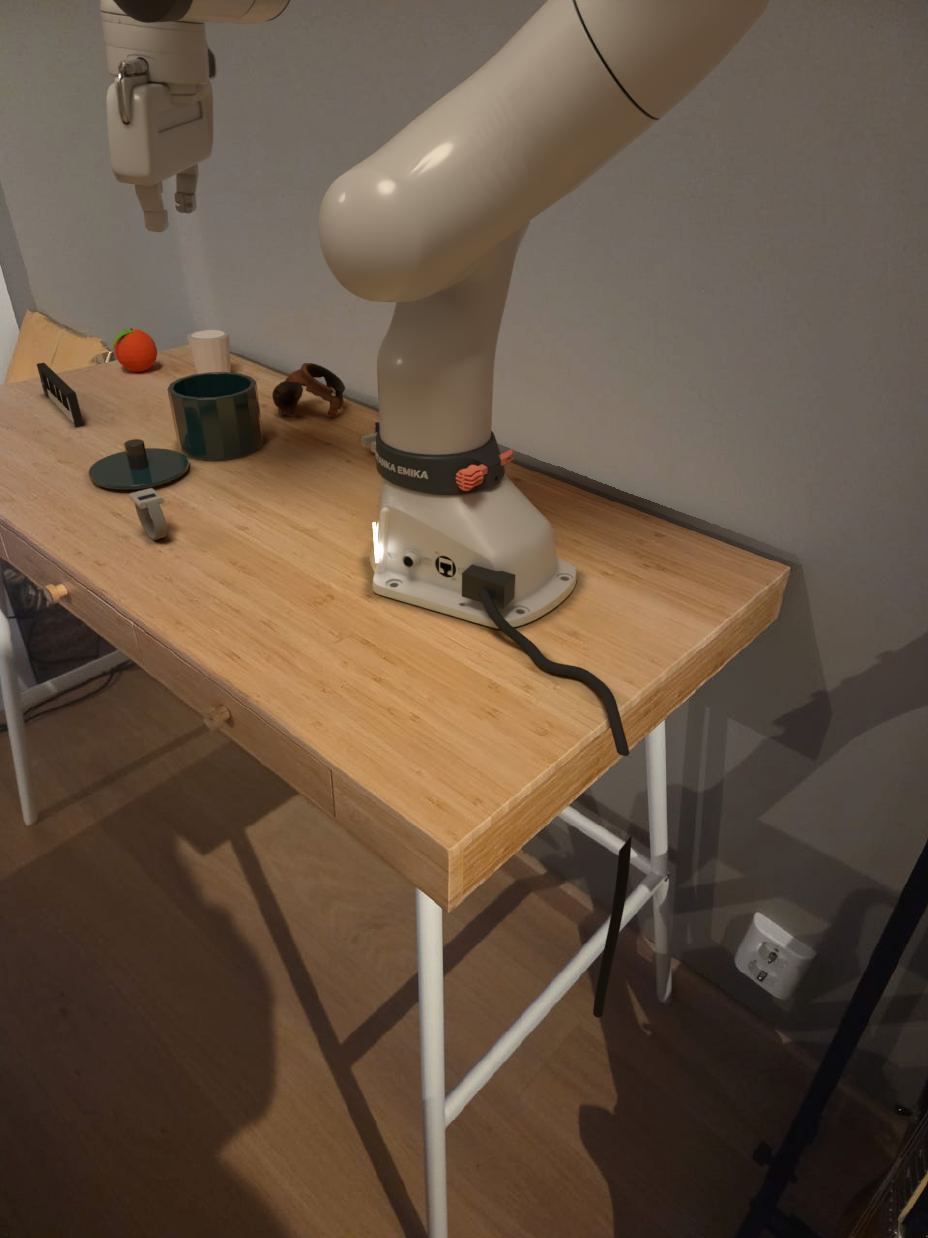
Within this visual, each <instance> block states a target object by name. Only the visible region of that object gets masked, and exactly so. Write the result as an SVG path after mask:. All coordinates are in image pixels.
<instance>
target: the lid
mask: <svg viewBox="0 0 928 1238" xmlns="http://www.w3.org/2000/svg"><path fill="white" fill-rule="evenodd" d="M123 445H124V451H120V452H116V453H113V454H110V455H107V456H105V457H102V458H100V459H99V460H97V461H96V462H94V463H93V464H92V465H91V466H90V468H89V470H88V476H89V480H90V481H91V482H92V483H93V484H95V485H96V486H99V487H102V488H106V489H111V490H140V489H149V488H153V487H157V486H161V485H164V484H167V483H170V482H173V481H175V480H177V479H179V478H180V477H181V476H183V475H184V474H185V473H186V472H187V471H188V470H189V467H190V464H189V459H188V457H187V456H185V455H183V454H182V453H181V452H180V451H177V450H172V449H167V448H159V447H157V448H156V447H154V448H153V447H152V448H151V447H147V448H146V445H145V441H144V440H143V439H139V438H133V439H129V440H127V441H124V443H123Z"/></svg>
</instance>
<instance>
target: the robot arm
mask: <svg viewBox="0 0 928 1238" xmlns="http://www.w3.org/2000/svg"><path fill="white" fill-rule="evenodd" d="M770 1H771V0H547V1H546V2H544V3H543V5H541V7H539V9H538V10H537V11H536V12H534V14H533V15H532V16H531V17H530V18H529V19H528V20H527V21H526V22H525V24H523V26H521V27H520V29H518V31H516V33H515V34H514V35H513V36H512V37H510V39H509V40H508V41H507V42H506V43H505V44H504V45H503V46H501V48H500V49H499V50H498V51H497V52H496V53H495V54H493V56H492V57H491V58H490V59H489V60H488V61H487V62H486V63H485V64H483V65H482V66H481V67H480V68H478V69H477V70H476V71H475V72H474V73H472V74H471V75H470V76H468V77H467V78H466V79H465V80H464V81H462V82H460V84H457V86H455V87H454V88H453V89H452V90H450V91H449V92H447V93H446V94H445V95H444V96H442V97H441V98H439V99H438V100H437V101H435V102H434V103H433V104H431V105H430V107H428V108H427V109H426V110H424V111H423V112H422V113H420V114H419V115H418V116H416V117H415V118H414V119H413V120H412V121H411V122H409V123H407V125H406V126H404V127H403V128H402V129H401V130H400V131H399V132H397V133H396V134H395V135H394V136H393V137H392V138H390V140H388V141H387V142H386V143H384V145H382V146H381V147H380V148H379V149H377V150H376V151H374V153H372V154H370V155H369V156H368V157H367V158H365V159H364V160H362V161H361V162H359V163H358V164H356V165H354V166H353V167H351V168H349V169H348V170H347V171H346V172H344V173H342V174H341V175H340V176H338V177H337V178H336V179H335V180H333V182H332V183H331V184H330V186H329V188H328V189H327V190H326V192H325V194H324V196H323V199H322V201H321V204H320V208H319V212H318V224H317V229H318V232H317V233H318V239H319V245H320V248H321V252H322V255H323V259H324V261H325V263H326V265H327V267H328V269H329V270H330V272H331V274H332V275H333V276H334V278H335V279H336V281H337V282H338V283H339V284H340V285H341V286H342V287H343V288H344V289H345V290H347V291H348V292H349V293H351V294H352V295H354V296H355V297H357V298H360V299H361V300H366V301H368V302H374V303H375V302H377V303H395V306H394V311H393V314H392V318H391V320H390V324H389V326H388V329H387V331H386V334H385V335H384V337H383V338H382V341H381V342H380V346H379V349H378V352H377V357H376V379H377V381H376V382H377V397H378V398H377V402H378V405H377V406H378V422H379V427H380V430H379V431H378V433H377V435H376V450H375V453H374V455H375V456H374V457H375V462H376V471H377V473H378V475H380V488H379V489H380V490H379V501H378V504H379V505H378V514H377V522H376V521H375V522H374V521H373V522H372V532H373V533H372V534H373V545H372V549H371V552H370V555H369V564H370V567H371V569H372V571H373V573H374V574H373V576H372V585H371V586H372V587H371V589H372V592H373V593H375V594H377V595H379V596H382V597H387V598H390V599H392V600H396V601H400V602H404V603H407V604H410V605H413V606H417V607H420V608H424V609H427V610H431V611H434V612H438V613H441V614H445V615H447V616H451V617H455V618H458V619H461V620H464V621H468V622H471V623H475V624H478V625H482V626H485V627H489V628H493V629H497V630H500V631H501V632H502V633H503V634H504V635H505V636H506V637H508V638H509V639H510V640H511V641H513V642H514V643H515V644H517V645H518V646H519V647H520V648H521V649H522V650H524V651H525V652H526V653H527V654H528V655H529V657H530V658H531V659H532V660H533V662H534V663H535V664H536V665H537V666H538V667H540V668H541V669H543V670H545V671H547V672H549V673H551V674H555V675H560V676H565V677H571V678H575V679H579V680H581V681H583V682H584V683H585V684H586V685H588V686H589V687H590V688H592V689H593V690H594V691H595V692H596V694H598V696H599V697H600V698H601V701H602V702H603V704H604V707H605V711H606V714H607V719H608V723H609V727H610V731H611V734H612V738H613V741H614V745H615V750H616V753H617V754H618V755H620V756H621V757H628V756H629V755H630V749H629V748H630V747H629V745H628V741H627V738H626V733H625V729H624V727H623V722H622V719H621V714H620V711H619V706H618V704H617V701H616V698H615V695H614V694H613V692H612V691H611V689H610V688H609V686H608V685H607V684H606V683H605V682H603V680H601V679H600V678H599V677H598V676H596V675H595V674H593V673H592V672H591V671H589V670H587V669H585V668H582V667H579V666H576V665H571V664H565V663H559V662H556V661H553V660H550V659H548V658H547V657H546V656H545V655H544V654H543V653H542V651H541V650H540V649H539V648H538V647H537V646H536V644H535V643H533V642H532V641H531V640H530V639H529V638H528V637H526V636H525V635H524V634H522V633H521V632H520V631H519V630H518V629H516V627H520V626H523V625H527V624H529V623H531V622H533V621H536V620H538V619H540V618H542V617H543V616H545V615H546V614H548V613H549V612H551V611H552V610H554V609H555V608H556V607H558V606H559V605H560V604H561V603H563V602H564V601H565V600H566V599H567V598H568V597H569V596H570V595H571V593H572V592H573V591H574V588H575V586H576V584H577V567H576V566H575V565H573V564H572V563H570V562H569V561H567V560H564V559H563V558H560V556H557V543H556V536H555V531H554V528H553V526H552V524H551V522H550V520H549V519H548V518H547V517H546V516H544V515H543V514H542V512H540V511H539V510H538V508H537V507H536V506H535V505H534V504H533V503H532V502H531V500H529V499H528V497H527V496H525V494H524V493H523V492H522V491H521V490H520V489H519V487H517V486H516V485H515V483H513V481H512V480H511V479H510V478H509V477H508V476H507V475H506V467H505V465H506V464H509V463H510V462H511V461H513V460H514V457H511V456H512V455H513V453H514V452H515V449H514V448H511V449H508V450H506V451H505V452H503V453H501V451H500V448H499V444H498V441H497V437H496V436H495V433H494V432H493V429H492V426H493V423H492V422H493V398H494V378H495V377H494V375H495V362H496V353H497V346H498V339H499V336H500V335H499V334H500V330H501V324H502V322H503V321H502V320H503V316H504V312H505V308H506V303H507V298H508V294H509V289H510V285H511V279H512V276H513V271H514V266H515V262H516V258H517V254H518V250H519V248H520V246H521V244H522V241H523V239H524V237H525V235H526V233H527V231H528V228H529V226H530V223H531V220H533V219H534V218H536V217H537V216H538V215H540V214H542V213H543V212H544V211H546V210H548V208H551V206H553V205H555V204H556V203H557V202H559V201H560V200H562V199H563V198H564V197H566V196H569V194H571V193H573V192H574V191H576V190H577V189H578V188H579V187H580V186H582V185H583V184H584V183H585V182H586V181H588V180H589V179H590V178H591V177H593V176H594V175H595V174H596V173H598V171H599V170H601V169H602V168H603V167H604V166H605V165H607V164H608V163H609V162H610V161H612V160H613V159H614V158H615V157H616V156H617V155H618V154H620V153H621V152H623V151H624V150H625V149H626V148H628V146H629V145H631V144H632V143H633V142H634V141H636V139H638V138H639V137H641V136H642V135H643V134H644V133H646V131H648V130H649V129H650V128H651V127H653V126H654V125H655V124H656V123H658V121H659V120H660V119H661V118H663V117H664V116H665V115H667V114H668V113H669V112H670V111H671V110H673V108H675V107H676V106H678V104H679V103H680V102H682V100H684V99H685V98H686V97H688V95H689V94H690V93H691V92H692V91H693V90H694V89H695V88H697V86H699V85H700V84H701V83H702V82H703V80H704V79H705V78H707V76H708V75H710V73H711V72H712V71H713V70H715V68H716V67H717V66H718V65H719V64H720V63H721V62H722V61H723V60H724V59H725V58H726V56H727V55H728V54H729V53H730V52H731V51H732V50H733V49H734V48H735V46H736V45H738V43H739V42H741V40H742V39H743V38H744V36H745V35H746V34H747V33H748V32H749V31H750V29H751V28H752V27H753V26H754V25H755V23H756V22H757V21H758V20H759V18H761V16H762V14H764V12H765V10H766V8H767V7H768V5H769V3H770ZM290 2H291V0H99V11H100V19H101V26H102V27H101V28H102V34H103V35H102V36H103V45H104V51H105V59H106V60H105V61H106V69H107V73H108V74H109V75H111V76H114V82H113V83H111V84H110V85H109V86H108V88H107V91H106V102H105V103H106V104H105V105H106V126H107V138H108V139H107V140H108V150H109V160H110V166H111V170H112V173H113V175H114V177H115V179H116V181H118V183H122V184H129V185H134V189H135V194H136V197H137V199H138V202H139V204H140V207H141V209H142V211H143V217H144V227H145V228H146V230H147V231H149V232H153V233H162V232H165V231H166V230H167V229H168V228H169V226H170V224H169V215H168V214H169V213H168V210H167V209H165V206H164V200H163V196H162V194H163V192H164V186H163V181H166V180H168V179H170V178H172V177H174V176H175V179H176V180H175V182H176V184H175V185H176V186H175V187H176V189H175V190H176V192H174V202H175V211H177V212H178V213H181V214H190V215H191V214H192V213H193V212H195V211H196V210H197V208H198V207H197V206H198V205H197V196H196V193H197V189H198V181H199V180H198V179H199V164H200V163H202V162H204V161H206V160H208V159H210V158H211V156H212V151H213V146H214V93H213V91H214V90H213V86H212V82H211V81H212V80H215V79H216V77H217V75H218V74H217V72H218V71H217V58H216V55H215V53H214V51H213V50H212V49H211V48H210V46H209V44H208V41H207V34H206V32H207V31H206V23H212V24H235V25H237V24H238V25H257V24H261V23H265V22H270V21H272V20H275V19H276V18H278V17H279V16H281V15H282V14H283V13H284V11H285V10H286V9H287V8H288V6H289V4H290ZM376 523H377V524H376ZM632 837H633V835H630V836H629V837H628V838H627V840H626V841H625V843H624V844H622V846H621V847H620V849H619V850H618V858H617V868H616V869H617V870H616V878H615V886H614V894H613V900H612V907H611V913H610V918H609V923H608V928H607V934H606V939H605V943H604V948H603V953H602V958H601V962H600V968H599V972H598V976H597V978H598V979H597V983H596V988H595V995H594V1002H593V1008H592V1015H593V1016H594V1017H595V1018H598V1019H599V1018H602V1016H603V1015H604V1009H605V1003H606V997H607V992H608V986H609V981H610V976H611V971H612V967H613V961H614V957H615V953H616V948H617V944H618V940H619V939H618V938H619V935H620V934H619V933H620V930H621V924H622V920H623V915H624V910H625V904H626V897H627V890H628V884H629V876H630V865H631V854H632Z"/></svg>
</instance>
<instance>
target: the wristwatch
mask: <svg viewBox="0 0 928 1238" xmlns="http://www.w3.org/2000/svg"><path fill="white" fill-rule="evenodd" d="M128 497H129V499H130V500H131V501H132V502H133V503H134V505H135V511H136V514H137V517H138V520H139V523H140V524H141V526H142V528H143V530H144V531H145V533H146V534H147V536H148V537H149V538H150V539H151V540H153V541H157V540H160V539H163V538H165V537H167V535H168V526H167V521H166V518H165V515H164V512H163V510H162V507H161V505H162V504H164V503H165V498H163V497H162V496H161V494H159V493H158V492H157V491H156V490H155V489H154V488H153V487H149V488H145V489H142V490H138V491H134V492H131V493H129V495H128Z"/></svg>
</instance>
